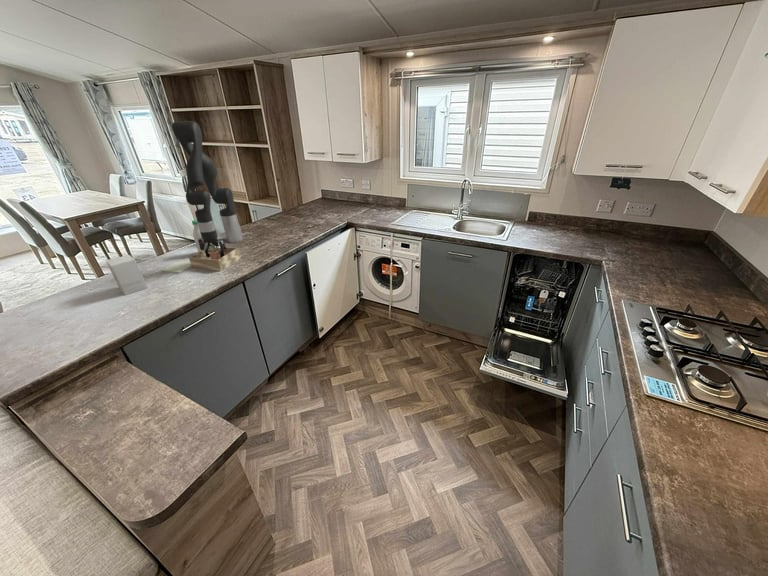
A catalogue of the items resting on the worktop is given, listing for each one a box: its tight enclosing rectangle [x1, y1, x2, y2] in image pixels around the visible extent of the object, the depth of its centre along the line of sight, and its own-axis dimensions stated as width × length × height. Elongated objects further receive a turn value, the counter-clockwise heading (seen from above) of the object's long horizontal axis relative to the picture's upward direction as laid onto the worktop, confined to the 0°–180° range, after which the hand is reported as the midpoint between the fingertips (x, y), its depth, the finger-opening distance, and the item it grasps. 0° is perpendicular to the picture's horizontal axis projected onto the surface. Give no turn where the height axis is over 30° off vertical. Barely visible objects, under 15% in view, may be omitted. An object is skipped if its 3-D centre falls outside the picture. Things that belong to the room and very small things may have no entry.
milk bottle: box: [191, 219, 205, 253], centre depth 172 cm, size 8×8×20 cm
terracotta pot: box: [208, 246, 220, 260], centre depth 163 cm, size 6×6×11 cm
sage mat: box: [161, 261, 192, 274], centre depth 160 cm, size 11×11×1 cm
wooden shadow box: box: [188, 246, 242, 272], centre depth 165 cm, size 18×18×6 cm
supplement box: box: [105, 254, 148, 296], centre depth 136 cm, size 9×9×15 cm
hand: (215, 257), depth 164 cm, fingers open, 8 cm apart
